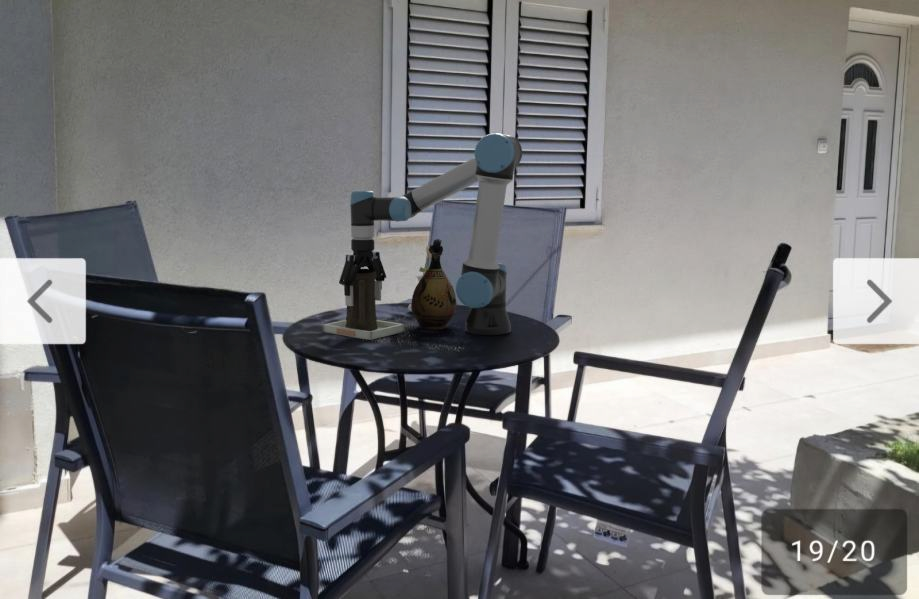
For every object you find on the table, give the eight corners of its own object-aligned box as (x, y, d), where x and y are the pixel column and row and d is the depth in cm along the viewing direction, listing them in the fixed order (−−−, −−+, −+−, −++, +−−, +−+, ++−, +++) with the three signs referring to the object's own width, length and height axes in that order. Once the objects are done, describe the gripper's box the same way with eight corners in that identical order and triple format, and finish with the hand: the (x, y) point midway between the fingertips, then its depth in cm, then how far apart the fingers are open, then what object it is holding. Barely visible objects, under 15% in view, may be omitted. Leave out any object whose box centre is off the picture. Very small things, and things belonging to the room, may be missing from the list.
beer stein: (342, 325, 286) (341, 267, 281) (373, 323, 289) (373, 266, 284) (350, 339, 272) (350, 278, 267) (383, 336, 275) (383, 277, 270)
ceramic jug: (456, 331, 282) (456, 241, 277) (410, 331, 281) (409, 241, 277) (456, 322, 298) (456, 237, 294) (412, 322, 298) (412, 237, 293)
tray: (358, 324, 294) (358, 317, 293) (404, 331, 281) (404, 324, 281) (322, 332, 280) (322, 324, 279) (369, 340, 268) (369, 332, 267)
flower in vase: (424, 316, 310) (424, 248, 306) (401, 312, 317) (401, 246, 313) (446, 311, 321) (447, 245, 317) (423, 308, 327) (423, 243, 323)
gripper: (379, 235, 288) (380, 297, 291) (327, 240, 268) (328, 306, 271) (396, 236, 284) (396, 299, 287) (344, 241, 264) (345, 309, 267)
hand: (363, 303), depth 279 cm, fingers open, 13 cm apart
